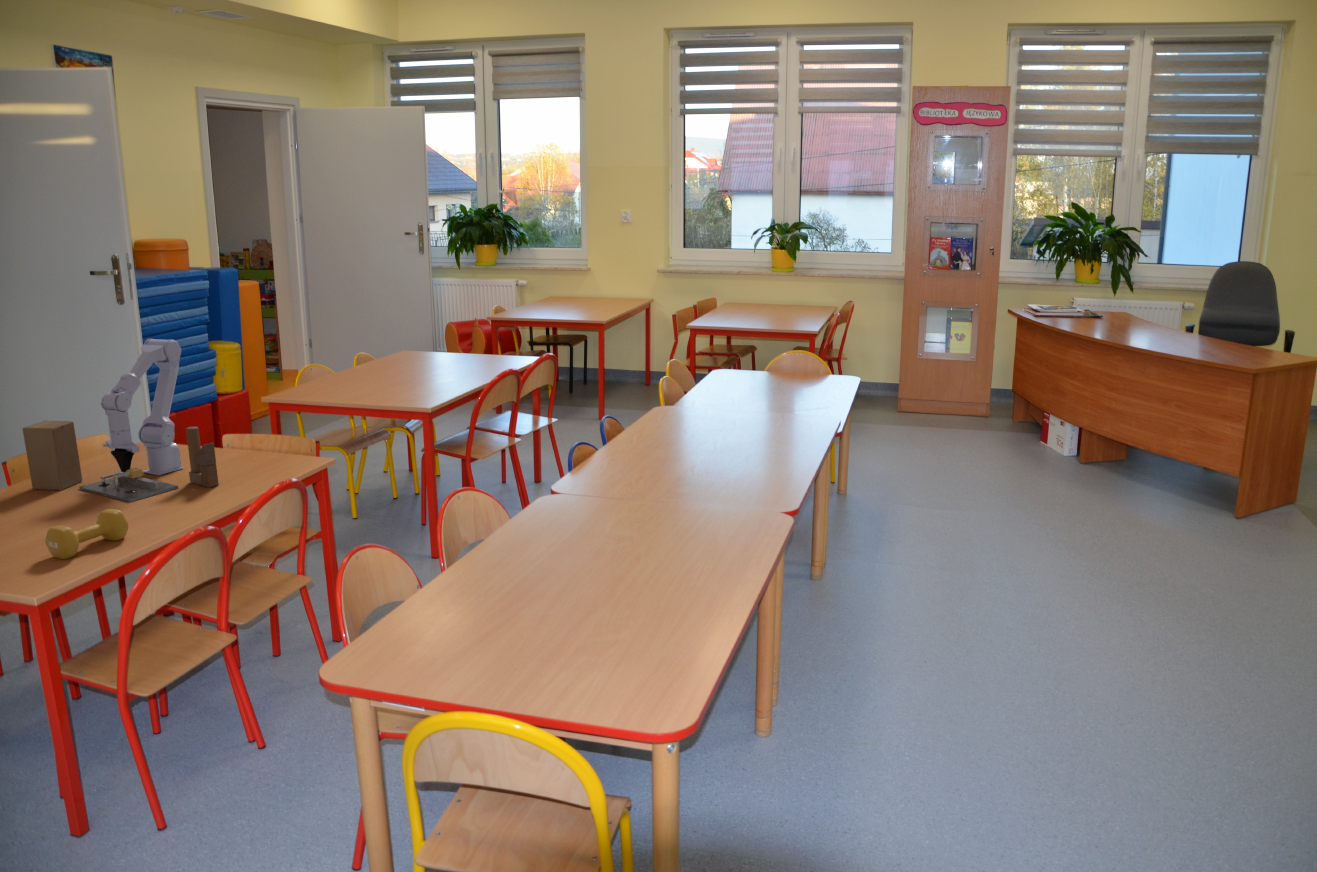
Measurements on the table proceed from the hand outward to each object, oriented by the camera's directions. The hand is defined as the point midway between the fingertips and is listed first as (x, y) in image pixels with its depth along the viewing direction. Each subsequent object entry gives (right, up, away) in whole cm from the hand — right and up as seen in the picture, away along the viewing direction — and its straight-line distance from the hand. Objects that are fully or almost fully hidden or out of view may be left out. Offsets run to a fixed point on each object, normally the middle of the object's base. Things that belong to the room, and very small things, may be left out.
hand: (125, 471), depth 307 cm
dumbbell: (+20, -18, -53) cm, 60 cm away
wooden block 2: (+25, -4, +1) cm, 25 cm away
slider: (+3, -4, -3) cm, 6 cm away
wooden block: (-21, -5, -1) cm, 22 cm away
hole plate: (+3, -5, -4) cm, 7 cm away
